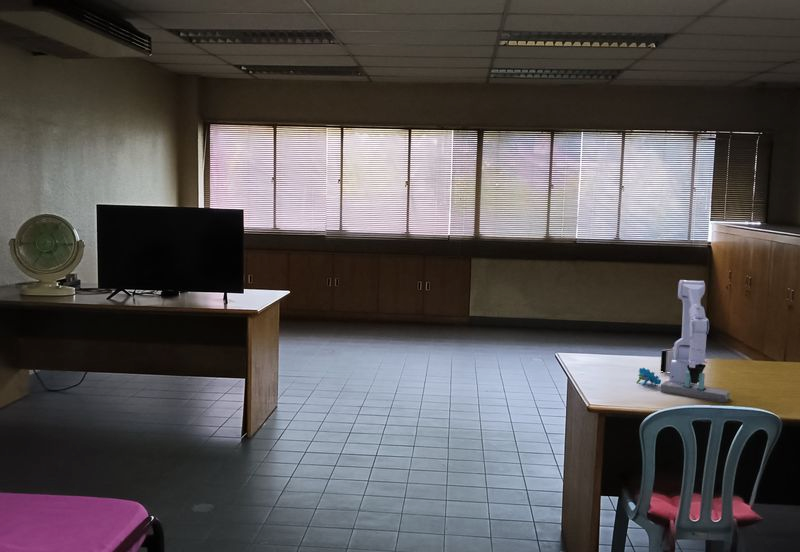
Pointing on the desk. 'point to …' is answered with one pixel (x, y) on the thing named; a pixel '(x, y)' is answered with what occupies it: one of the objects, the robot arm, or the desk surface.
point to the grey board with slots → (695, 391)
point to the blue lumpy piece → (648, 376)
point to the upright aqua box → (701, 379)
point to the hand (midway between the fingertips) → (695, 382)
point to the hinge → (666, 359)
